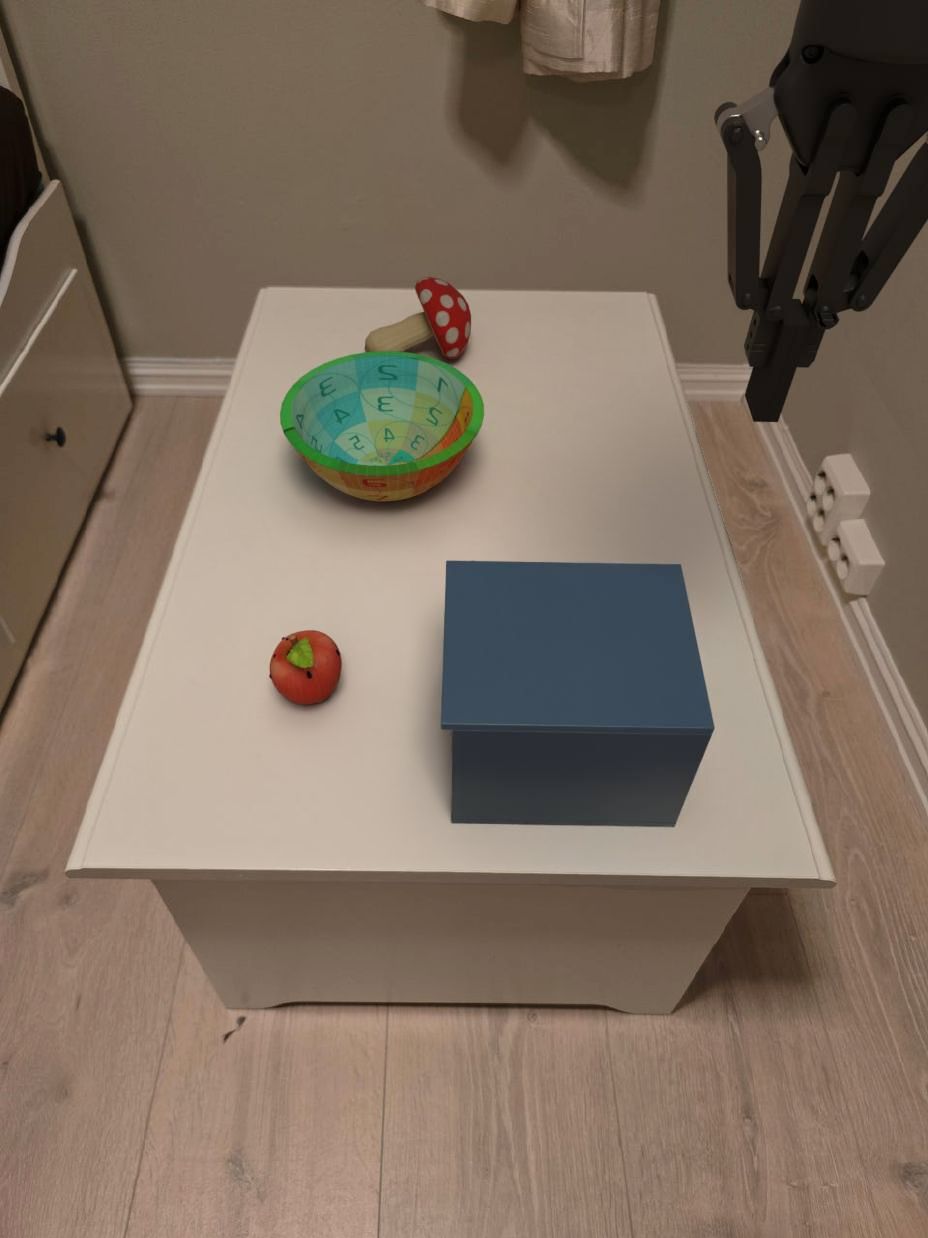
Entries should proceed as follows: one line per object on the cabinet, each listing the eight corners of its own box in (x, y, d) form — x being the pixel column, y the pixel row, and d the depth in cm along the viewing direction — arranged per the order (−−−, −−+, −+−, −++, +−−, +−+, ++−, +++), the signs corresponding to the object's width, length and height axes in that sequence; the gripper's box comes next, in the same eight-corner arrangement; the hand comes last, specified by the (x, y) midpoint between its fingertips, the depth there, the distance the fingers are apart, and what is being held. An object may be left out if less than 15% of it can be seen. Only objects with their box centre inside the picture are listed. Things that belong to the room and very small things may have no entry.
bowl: (456, 408, 114) (457, 338, 106) (503, 525, 100) (508, 455, 92) (281, 432, 110) (269, 362, 103) (304, 558, 96) (292, 487, 89)
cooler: (451, 823, 76) (451, 730, 65) (454, 668, 87) (455, 566, 76) (674, 827, 76) (712, 734, 65) (650, 672, 87) (679, 570, 76)
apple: (260, 689, 85) (241, 620, 77) (318, 652, 88) (306, 583, 80) (306, 740, 81) (292, 674, 74) (366, 700, 84) (358, 632, 77)
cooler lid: (440, 730, 65) (440, 724, 65) (446, 566, 76) (446, 559, 75) (712, 734, 65) (715, 728, 65) (679, 570, 76) (681, 563, 75)
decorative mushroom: (343, 312, 113) (451, 260, 111) (351, 313, 123) (450, 266, 122) (381, 394, 116) (487, 345, 114) (386, 389, 126) (483, 344, 125)
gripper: (1035, -89, 39) (850, 374, 57) (738, -95, 39) (646, 370, 57) (1115, -41, 34) (885, 449, 52) (775, -48, 34) (662, 445, 52)
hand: (761, 408), depth 54 cm, fingers closed
